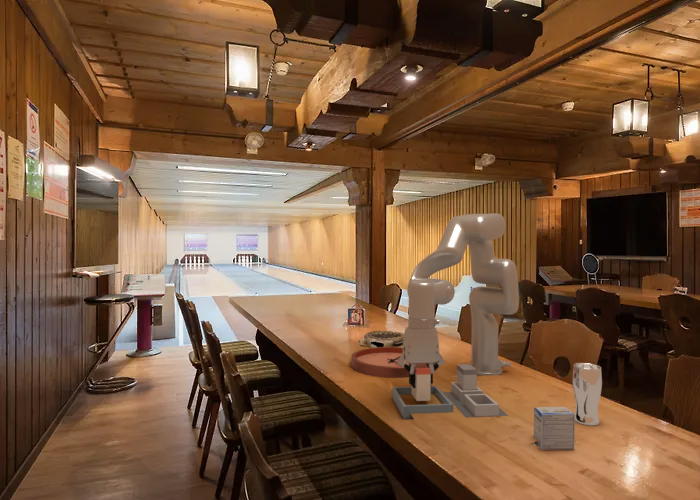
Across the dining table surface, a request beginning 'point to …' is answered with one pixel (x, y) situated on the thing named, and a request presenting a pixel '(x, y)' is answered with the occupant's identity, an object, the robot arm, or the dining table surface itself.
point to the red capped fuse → (422, 383)
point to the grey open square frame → (412, 409)
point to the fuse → (466, 377)
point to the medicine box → (554, 428)
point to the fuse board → (473, 402)
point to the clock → (379, 362)
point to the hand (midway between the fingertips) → (420, 385)
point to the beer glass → (587, 392)
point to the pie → (383, 338)
